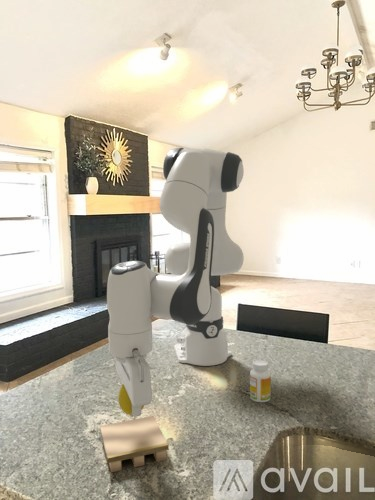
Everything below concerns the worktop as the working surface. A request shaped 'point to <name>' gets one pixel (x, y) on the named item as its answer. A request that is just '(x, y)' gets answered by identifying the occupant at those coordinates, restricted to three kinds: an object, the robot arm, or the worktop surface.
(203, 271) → the robot arm
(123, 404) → the lemon
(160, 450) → the platform
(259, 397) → the supplement bottle
